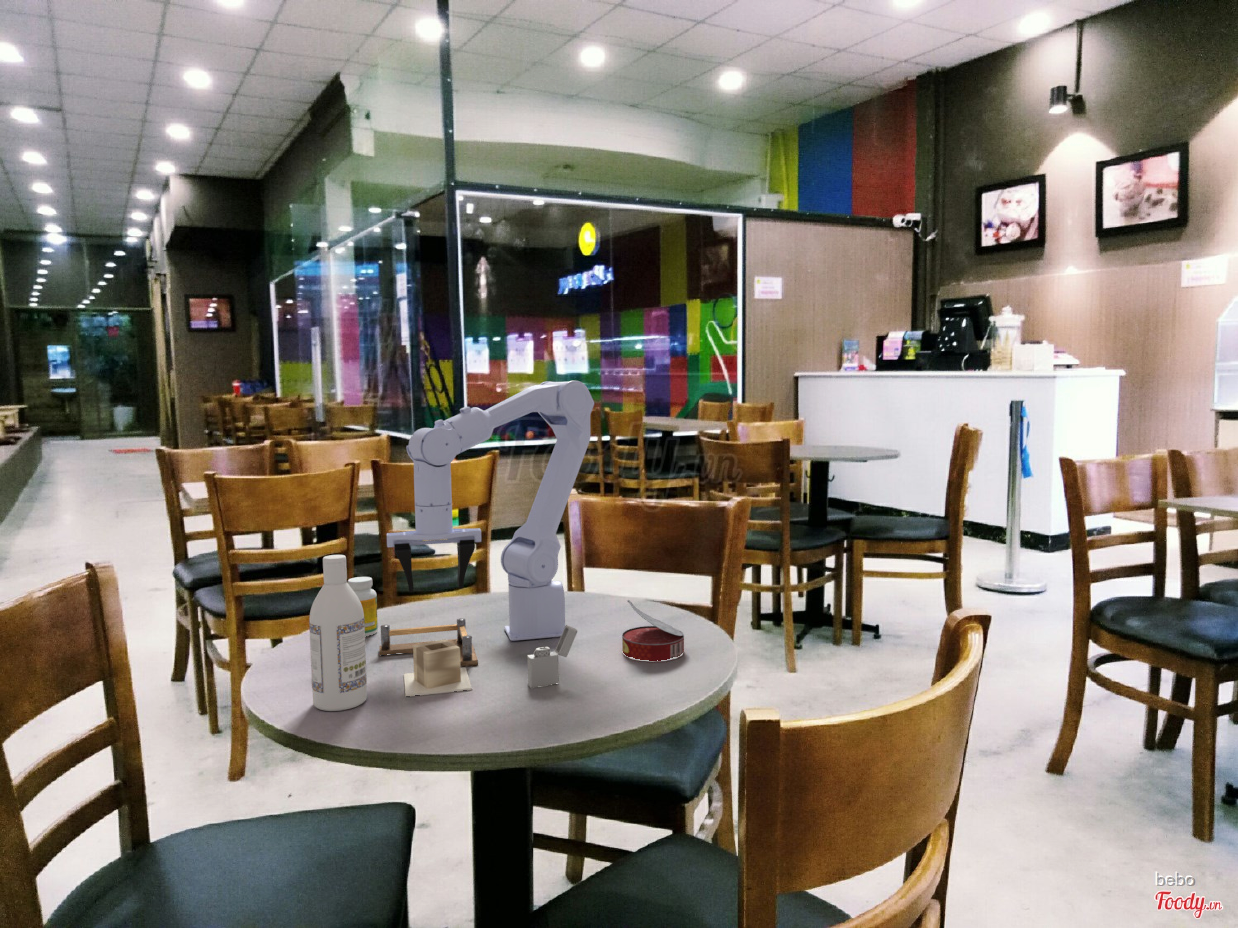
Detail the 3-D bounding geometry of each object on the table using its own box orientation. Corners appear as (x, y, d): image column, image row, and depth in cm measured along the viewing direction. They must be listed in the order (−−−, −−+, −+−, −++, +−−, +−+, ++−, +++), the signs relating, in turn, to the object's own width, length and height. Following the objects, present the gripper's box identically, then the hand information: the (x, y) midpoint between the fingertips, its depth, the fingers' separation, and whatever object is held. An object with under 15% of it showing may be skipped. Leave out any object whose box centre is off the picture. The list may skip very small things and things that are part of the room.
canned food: (636, 671, 138) (643, 612, 141) (692, 674, 133) (698, 612, 137) (603, 657, 129) (612, 594, 132) (662, 660, 124) (669, 594, 128)
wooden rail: (470, 642, 139) (469, 616, 138) (478, 665, 127) (477, 637, 127) (379, 650, 135) (378, 624, 135) (379, 675, 123) (378, 646, 123)
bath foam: (373, 693, 116) (368, 551, 114) (357, 712, 109) (351, 561, 107) (324, 693, 116) (318, 551, 114) (305, 712, 109) (298, 562, 107)
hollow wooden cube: (446, 672, 123) (445, 639, 123) (460, 681, 119) (459, 647, 119) (414, 679, 120) (413, 645, 120) (427, 689, 116) (426, 654, 116)
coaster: (465, 669, 125) (465, 667, 125) (471, 690, 117) (471, 687, 117) (403, 675, 123) (403, 673, 123) (405, 697, 114) (405, 694, 114)
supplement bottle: (340, 633, 145) (338, 578, 144) (370, 627, 148) (368, 574, 148) (352, 640, 141) (350, 584, 140) (383, 634, 144) (381, 579, 143)
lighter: (531, 688, 117) (530, 632, 116) (527, 684, 119) (526, 629, 118) (578, 681, 120) (577, 626, 119) (574, 677, 122) (573, 623, 121)
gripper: (477, 498, 137) (479, 580, 138) (385, 503, 133) (388, 586, 135) (481, 504, 130) (484, 589, 132) (385, 508, 127) (388, 596, 128)
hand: (436, 588), depth 133 cm, fingers open, 7 cm apart
